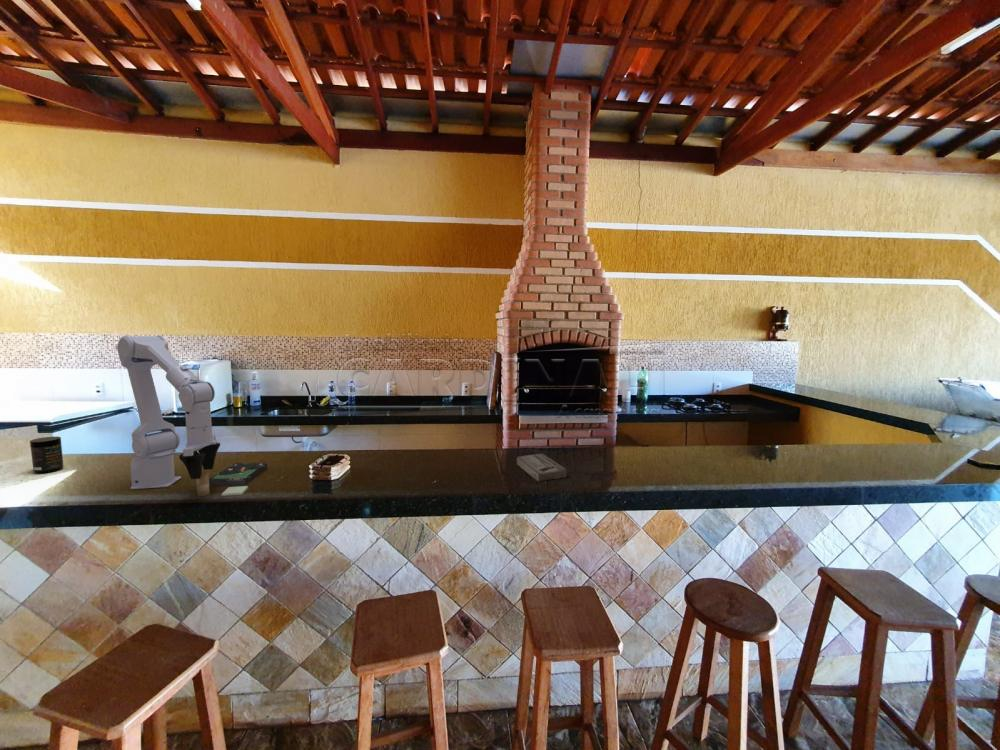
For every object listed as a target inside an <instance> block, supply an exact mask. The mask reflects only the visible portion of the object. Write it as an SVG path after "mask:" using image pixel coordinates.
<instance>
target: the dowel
mask: <svg viewBox="0 0 1000 750" xmlns="http://www.w3.org/2000/svg"><path fill="white" fill-rule="evenodd" d="M209 477H210V475H209V472H208V471H202V474H201V478H200V479H195V480H196V493H197V494H196V495H197V497H204V496H208V495H209V494H210V484H209V479H210V478H209Z"/></svg>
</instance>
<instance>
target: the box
mask: <svg viewBox="0 0 1000 750" xmlns="http://www.w3.org/2000/svg"><path fill="white" fill-rule="evenodd" d="M516 465H517V466H518V467H520V468H521V469H522V470H523V471H525V472H526V473H527V474H528V475H529V476H531V477H532V478H533V479H535V480H536V481H537V482H544V481H549V480H557V479H562V478H563V479H565V478H567V475H568V474H567V473H568V469H567V468H565V467H564V466H563V465H561V464H559V463H558V462H556V461H555V460H554V459H552V458H550V457H549V456H547V455H546V454H544V453H542V452H541V453H535V454H528V455H520V456H517V457H516Z"/></svg>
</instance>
